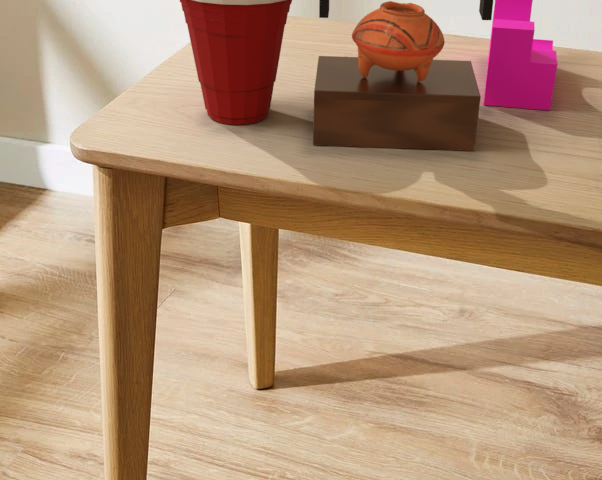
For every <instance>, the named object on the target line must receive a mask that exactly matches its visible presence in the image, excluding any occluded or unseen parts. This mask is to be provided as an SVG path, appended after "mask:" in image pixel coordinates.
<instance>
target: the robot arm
mask: <svg viewBox="0 0 602 480" xmlns="http://www.w3.org/2000/svg"><path fill="white" fill-rule="evenodd" d="M318 1H319V13H318V15H319V16H318V18H320V19H321V18H322V19H328V18H329V15H330V0H318ZM493 10H494V0H479V9H478V12H479V15H480V18H481V20H482V21H492V19H493V16H492V15H493Z"/></svg>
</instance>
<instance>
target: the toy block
mask: <svg viewBox="0 0 602 480" xmlns="http://www.w3.org/2000/svg"><path fill="white" fill-rule="evenodd" d="M533 1H534V0H494V5H493V13H492V15H493V16H492V24H491V31H490V38H489V39H490V40H489V48H488V55H487V66H486V67H487V68H486V75H485V86H484V96H483V106H491V107H504V108H505V107H506V108H516V109H528V110H541V111H551V106H552V101H553V100H552V99H553V95H554V94H553V93H554V87H555V82H556V81H555V80H556V75H557V70H558V69H557V68H558V54H557V50H554V40H553V39H552V40H551V39H536V38H534V36H535V21H531V15H532V7H533Z"/></svg>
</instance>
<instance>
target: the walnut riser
mask: <svg viewBox="0 0 602 480" xmlns="http://www.w3.org/2000/svg"><path fill="white" fill-rule="evenodd" d="M473 67H474V66H473V64H472V60H453V59H433V60H432V63H431V66H430V69H429V71H428V74H427V77H426V79H425V80H423V81H420V82H417V74H416V72H415V71H414V70H415V69H411V70H405V71H395V70H389V69H385V68H382V67H380V66H378V65H373V66H372V67H371V68H370V70H369V74H368V77H367V78H364V77H362V76H361V74H360V71H359V66H358V56H333V55H332V56H331V55H319V56H318V57H317V66H316V75H315V83H314V89H313V122H312V123H313V127H312V130H313V133H312V145H313V146H326V147H327V146H330V147H331V146H333V147H354V148H355V147H357V148H358V147H359V148H385V149H408V150H409V149H413V150H439V151H465V152H468V151H469V152H475V148H476V147H475V146H476V141H477V140H476V139H477V138H476V137H477V132H478V123H479V114H480V105H481V98H482V97H481V93H480V89H479V86H478V82H477V78H476V74H475V70H474V68H473Z"/></svg>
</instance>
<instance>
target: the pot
mask: <svg viewBox="0 0 602 480" xmlns="http://www.w3.org/2000/svg"><path fill="white" fill-rule="evenodd" d="M425 11H426V10H425V9H424V8H423V6H421V5H419V4H416V3H414V2H413V3H412V2H407V3H405V2H404V3H402V2H396V1H392V0H388V1H385V2H382V3H381V4H380V5H379V8H377V9H375V10H373V11H371V12H369V13H367V14H366V15H365V16H363V17H362V19H360V21H359V22H358V23H357V24H356V26H355V27H354V29H353V31H352V33H351V38H352V42H354V43H355V45H356V47H357V52H358V53H357V57H358V66H359V71H360V74H361V76H362V77H364V78H367V77H368V74H369V70H370V68H371V67H372V66H373V65H378V66H380V67H382V68H385V69H389V70H395V71H405V70H411V69H415V70H414V71H415V72H416V74H417V82H420V81H423V80H425V79H426V77H427V74H428V71H429V69H430V66H431V63H432V60H434V58H436V57H437V56H438V55H439V54H440V53H441V51H442V50H443V48H444V46H445V36H444V34H443V32H442V30H441V28H440V26H439V25H438V24H437V22H436V21H435V20H434V19H433V18H432V17H430V15H428V14H426V12H425Z"/></svg>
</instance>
